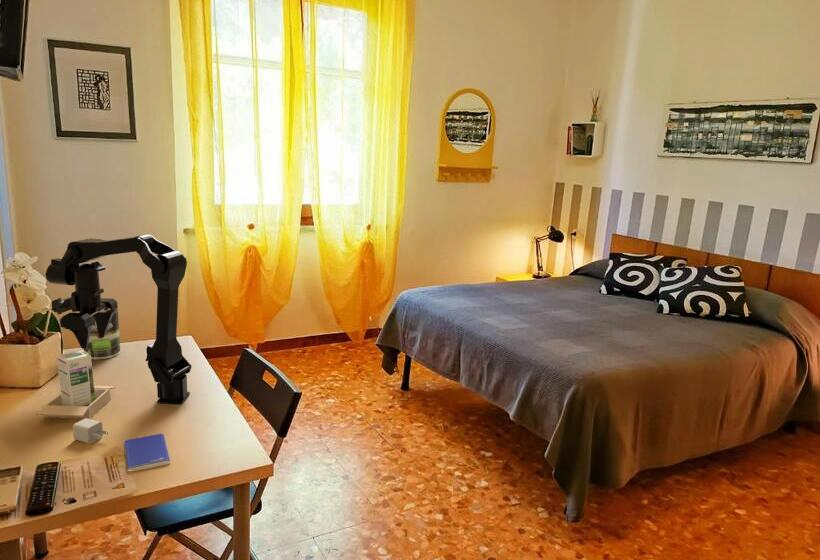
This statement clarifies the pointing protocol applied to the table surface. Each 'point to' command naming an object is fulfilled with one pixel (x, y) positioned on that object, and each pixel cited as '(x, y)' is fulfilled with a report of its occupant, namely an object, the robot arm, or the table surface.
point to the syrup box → (76, 378)
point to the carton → (82, 412)
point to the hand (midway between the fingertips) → (93, 342)
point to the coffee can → (104, 340)
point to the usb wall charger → (88, 430)
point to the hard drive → (146, 452)
